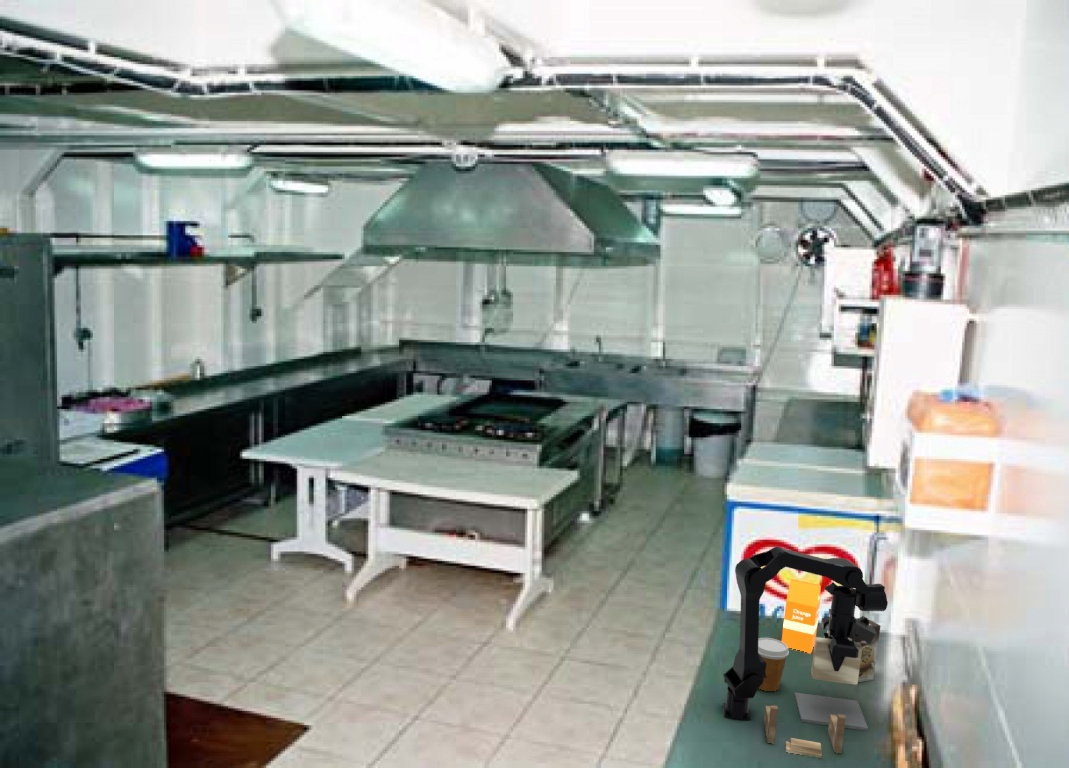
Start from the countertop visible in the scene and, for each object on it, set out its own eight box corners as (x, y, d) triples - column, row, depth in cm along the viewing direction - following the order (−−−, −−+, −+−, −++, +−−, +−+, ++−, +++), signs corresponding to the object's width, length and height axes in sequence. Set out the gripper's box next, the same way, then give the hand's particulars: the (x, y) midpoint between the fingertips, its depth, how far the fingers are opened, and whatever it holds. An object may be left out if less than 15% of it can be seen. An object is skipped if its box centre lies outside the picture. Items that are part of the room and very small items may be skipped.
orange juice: (810, 654, 272) (818, 589, 269) (780, 646, 275) (788, 582, 272) (815, 644, 279) (822, 581, 276) (785, 637, 282) (792, 574, 279)
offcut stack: (785, 746, 220) (786, 736, 220) (820, 752, 219) (821, 742, 218) (785, 754, 217) (786, 744, 217) (821, 760, 215) (822, 750, 215)
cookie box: (848, 684, 254) (856, 629, 251) (832, 673, 260) (839, 619, 257) (874, 680, 258) (881, 625, 255) (857, 669, 263) (864, 616, 261)
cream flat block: (810, 673, 238) (815, 636, 237) (855, 679, 237) (860, 642, 235) (812, 678, 235) (817, 641, 234) (857, 684, 234) (862, 647, 232)
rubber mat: (794, 695, 245) (794, 692, 245) (856, 703, 243) (857, 700, 243) (801, 721, 232) (801, 718, 232) (867, 730, 230) (867, 727, 229)
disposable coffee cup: (748, 675, 255) (752, 634, 253) (783, 681, 253) (788, 640, 251) (748, 691, 246) (753, 649, 244) (785, 697, 244) (790, 654, 242)
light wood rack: (763, 722, 230) (767, 688, 229) (834, 732, 228) (838, 698, 226) (767, 743, 220) (771, 708, 219) (841, 753, 218) (845, 718, 217)
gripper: (883, 629, 223) (875, 689, 225) (868, 600, 241) (860, 656, 244) (836, 623, 224) (828, 683, 227) (824, 594, 243) (817, 650, 245)
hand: (835, 668), depth 236 cm, fingers closed on cream flat block, 3 cm apart
